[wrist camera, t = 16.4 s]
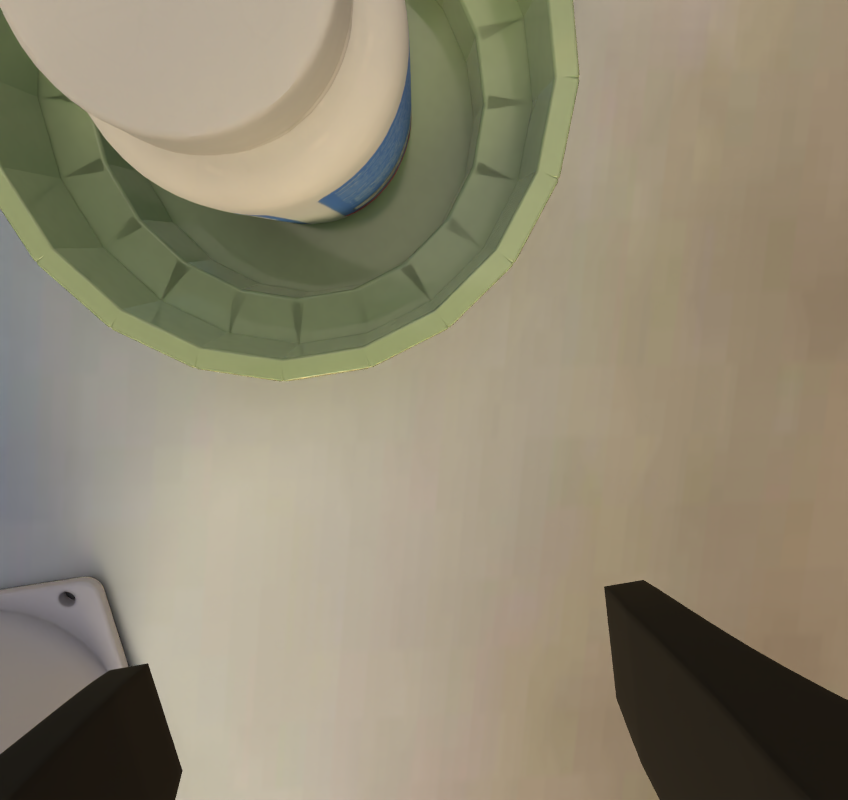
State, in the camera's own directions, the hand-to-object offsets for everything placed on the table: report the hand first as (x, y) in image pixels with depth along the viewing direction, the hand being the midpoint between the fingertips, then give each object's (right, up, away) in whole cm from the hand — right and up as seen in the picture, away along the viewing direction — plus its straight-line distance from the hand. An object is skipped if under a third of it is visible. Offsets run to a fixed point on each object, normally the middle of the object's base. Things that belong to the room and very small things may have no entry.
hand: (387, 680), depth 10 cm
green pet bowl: (-3, +12, +7) cm, 14 cm away
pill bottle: (-3, +12, +7) cm, 14 cm away
